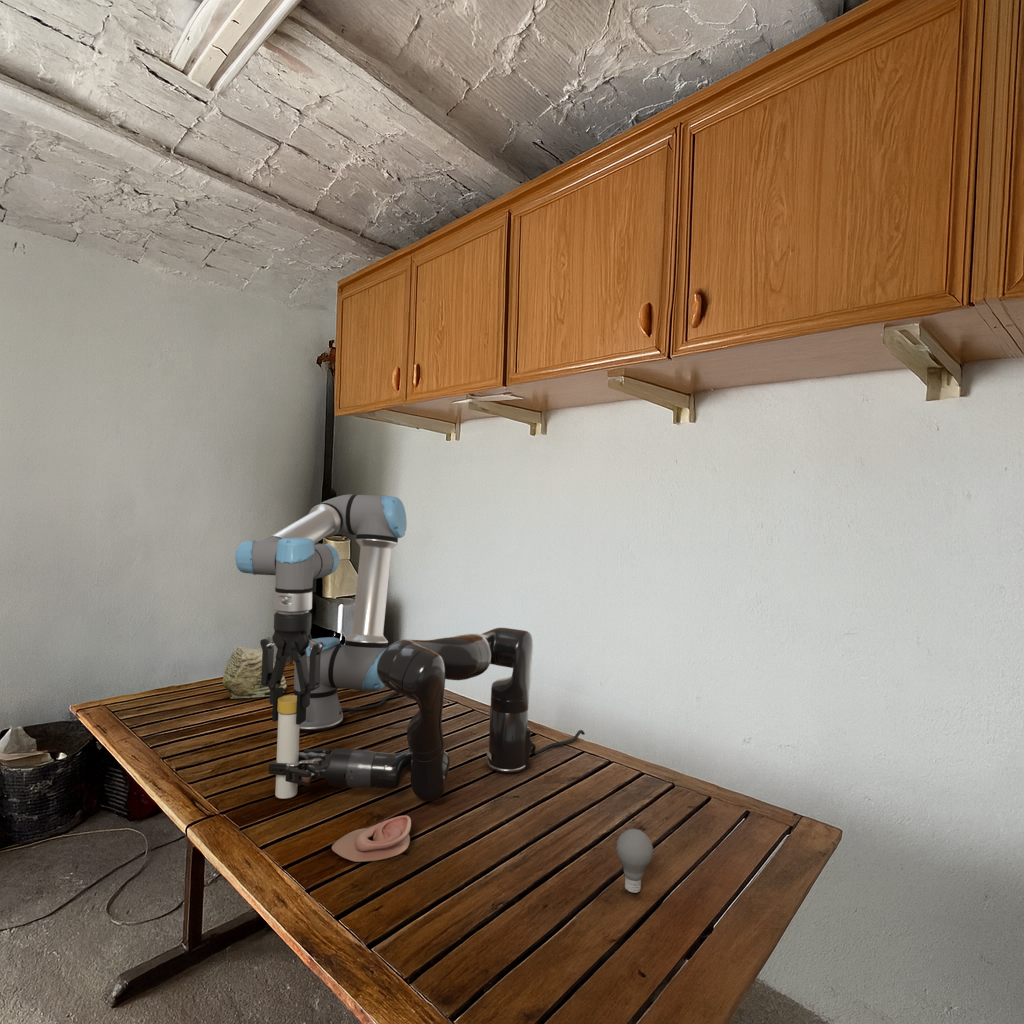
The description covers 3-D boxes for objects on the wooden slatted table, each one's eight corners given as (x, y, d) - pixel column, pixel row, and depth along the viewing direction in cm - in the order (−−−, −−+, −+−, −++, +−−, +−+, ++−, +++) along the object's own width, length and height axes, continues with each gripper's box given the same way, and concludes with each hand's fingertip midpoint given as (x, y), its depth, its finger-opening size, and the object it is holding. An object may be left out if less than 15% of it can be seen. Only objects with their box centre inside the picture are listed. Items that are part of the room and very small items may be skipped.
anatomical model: (323, 834, 111) (353, 804, 123) (323, 856, 111) (352, 824, 123) (394, 845, 109) (418, 814, 120) (393, 868, 109) (417, 834, 120)
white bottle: (276, 789, 136) (280, 699, 136) (298, 788, 137) (301, 698, 137) (273, 799, 132) (277, 705, 131) (295, 798, 133) (299, 705, 132)
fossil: (218, 695, 195) (220, 647, 195) (278, 685, 208) (279, 640, 207) (228, 703, 189) (230, 653, 188) (289, 692, 201) (290, 645, 201)
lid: (274, 713, 131) (275, 702, 131) (280, 706, 136) (280, 695, 136) (298, 713, 132) (299, 702, 132) (303, 706, 137) (303, 695, 137)
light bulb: (610, 879, 108) (613, 822, 108) (644, 879, 109) (647, 822, 109) (619, 902, 102) (622, 840, 102) (655, 901, 103) (658, 840, 103)
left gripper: (244, 611, 132) (240, 722, 132) (323, 617, 128) (318, 731, 129) (265, 605, 139) (261, 710, 140) (340, 611, 136) (336, 719, 136)
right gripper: (364, 738, 141) (288, 733, 141) (343, 764, 126) (260, 759, 127) (362, 771, 141) (287, 766, 142) (342, 802, 127) (258, 796, 127)
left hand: (289, 720), depth 134 cm, fingers closed on lid, 5 cm apart
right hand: (274, 763), depth 134 cm, fingers closed on white bottle, 4 cm apart
